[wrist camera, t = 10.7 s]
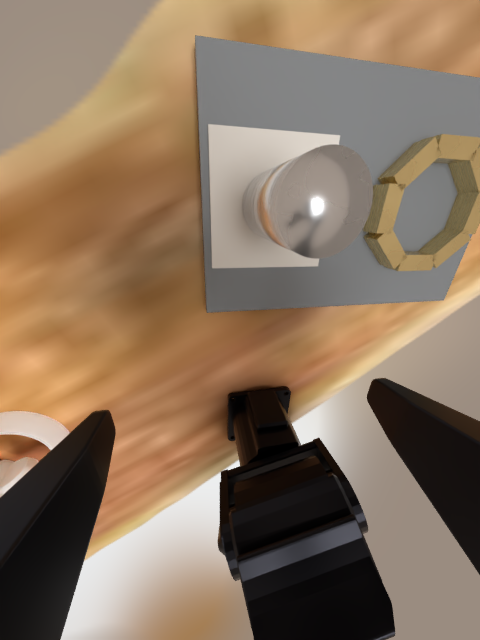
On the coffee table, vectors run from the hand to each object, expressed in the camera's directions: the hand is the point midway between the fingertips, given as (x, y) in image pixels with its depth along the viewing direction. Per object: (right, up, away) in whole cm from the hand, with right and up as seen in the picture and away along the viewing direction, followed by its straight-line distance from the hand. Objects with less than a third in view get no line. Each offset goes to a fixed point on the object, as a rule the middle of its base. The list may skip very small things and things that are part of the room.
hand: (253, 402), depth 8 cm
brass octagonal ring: (+13, +11, +10) cm, 20 cm away
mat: (+2, +10, +8) cm, 13 cm away
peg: (+2, +10, +7) cm, 13 cm away
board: (+8, +11, +10) cm, 17 cm away
